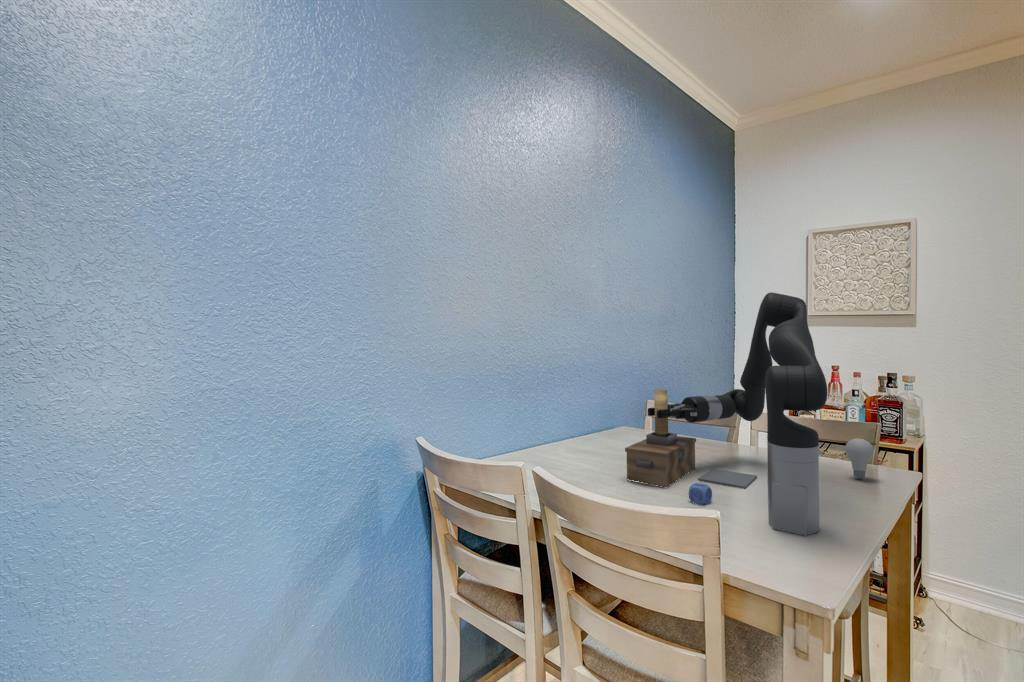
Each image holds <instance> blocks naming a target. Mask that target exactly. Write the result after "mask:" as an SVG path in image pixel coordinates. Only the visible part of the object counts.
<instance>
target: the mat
mask: <svg viewBox="0 0 1024 682" xmlns="http://www.w3.org/2000/svg"><path fill="white" fill-rule="evenodd" d="M757 478H758V475H756V474H751V473H750V474H749V473H744V472H737V471H733V470H732V471H731V470H724V469H718V468H712V467H711V469H709V470H708V471H706V472H705V473H703V474H702V475H701V476H699V477H698V478H697V481H698V480H699V482H703V481H704V482H705V483H709V484H714V483H716V484H715V485H720V484H721V485H720V486H726V485H727V487H731V486H732V487H733V488H737V487H738V489H743V488H744V489H743V490H746V489H747V488H748V487H749V486H750V485H751V484H752V483H753V482H754V481H756V479H757ZM704 482H703V483H704Z"/></svg>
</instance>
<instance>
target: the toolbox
mask: <svg viewBox="0 0 1024 682" xmlns="http://www.w3.org/2000/svg"><path fill="white" fill-rule="evenodd" d="M696 442H697V437H688V436H680V435H677V443H675V444H673V445H671V446H669V447H667V446H660V445H653V444H646V438H645V439H642V440H641V441H638V442H635V443H634V444H631V445H629V446H626V447H625V448H624V452H625V453H626V480H627V479H629V480H634V481H639V482H643V483H648V484H653V485H658V486H662V487H661V488H663V487H667V486H668V487H669V485H670V484H671V485H672V483H673V482H674V483H676V482H677V481H679V480H680V479H682V478H683V477H685V476H686V475H688V474H689V473H691V472H692V471H694V470H695V469H696ZM694 468H695V469H694ZM693 469H694V470H693ZM691 470H692V471H691ZM690 471H691V472H690ZM688 472H689V473H688ZM687 473H688V474H687ZM685 474H686V475H685ZM684 475H685V476H684ZM682 476H683V477H682ZM681 477H682V478H681ZM679 478H680V479H679ZM678 479H679V480H678ZM676 480H677V481H676ZM675 481H676V482H675ZM643 483H642V484H643ZM674 483H673V484H674ZM648 484H647V485H648ZM653 485H652V486H653ZM671 485H670V486H671ZM658 486H657V487H658ZM668 487H667V488H668Z"/></svg>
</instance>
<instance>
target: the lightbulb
mask: <svg viewBox="0 0 1024 682" xmlns="http://www.w3.org/2000/svg"><path fill="white" fill-rule="evenodd" d="M844 450H845V453H846V454H847V457H848V458H849V460H850V462H851V467H852V470H853V476H854V477H855V478H856V479H857V480H863V479H865V478H866V471H867V467H868V464H869V461H870V460H871V459H872V457H873V455H874V447H873V445H872V444H871V443H870V442H869V441H867V440H866V439H863V438H859V437H858V438H857V437H855V438H852V439H849V441H847V443H846V444H845V449H844Z"/></svg>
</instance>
